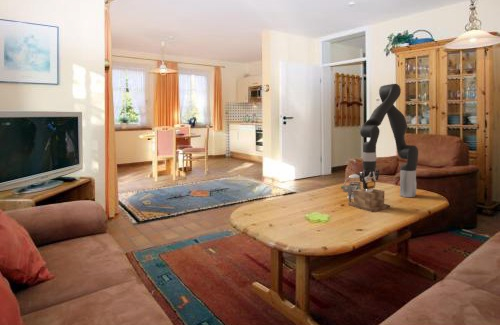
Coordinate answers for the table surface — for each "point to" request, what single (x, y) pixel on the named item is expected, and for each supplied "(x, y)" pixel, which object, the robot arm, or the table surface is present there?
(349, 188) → the mechanical component
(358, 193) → the hitch block
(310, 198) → the table surface
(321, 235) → the table surface
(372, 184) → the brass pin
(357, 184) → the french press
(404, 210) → the table surface
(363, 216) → the table surface
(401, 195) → the robot arm
